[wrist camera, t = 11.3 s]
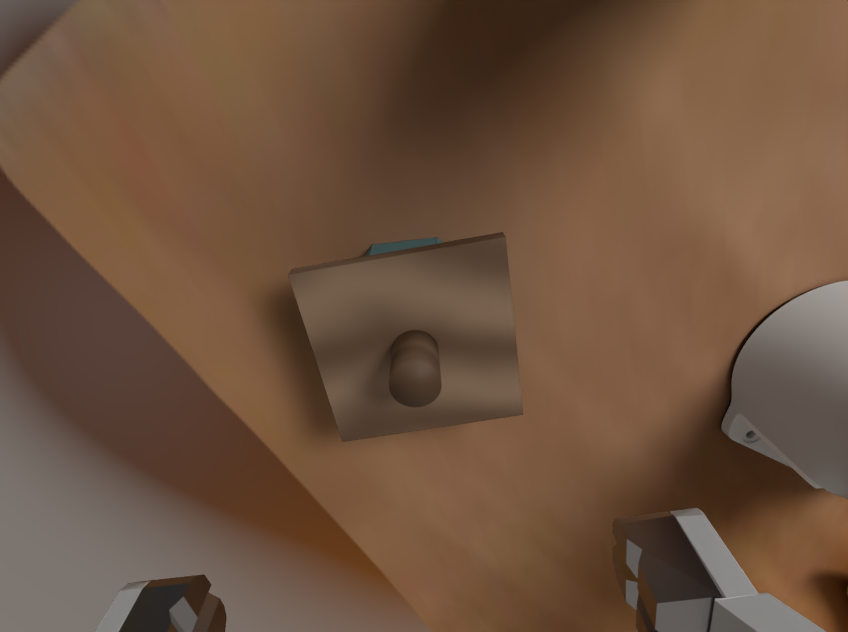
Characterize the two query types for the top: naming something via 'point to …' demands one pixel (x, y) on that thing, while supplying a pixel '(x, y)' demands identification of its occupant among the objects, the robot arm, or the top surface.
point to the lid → (414, 336)
